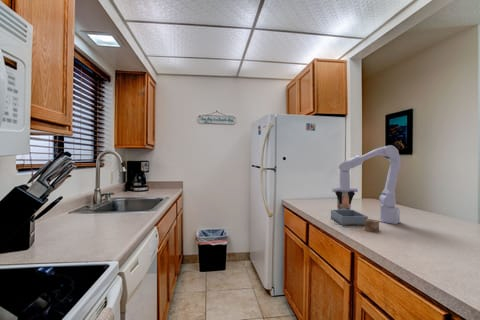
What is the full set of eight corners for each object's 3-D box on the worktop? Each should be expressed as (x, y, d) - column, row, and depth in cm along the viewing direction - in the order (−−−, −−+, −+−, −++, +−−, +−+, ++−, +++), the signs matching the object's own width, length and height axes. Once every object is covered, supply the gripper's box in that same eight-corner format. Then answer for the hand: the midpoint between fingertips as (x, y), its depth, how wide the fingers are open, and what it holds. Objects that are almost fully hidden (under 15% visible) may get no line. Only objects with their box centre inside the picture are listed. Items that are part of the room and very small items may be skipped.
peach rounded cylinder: (350, 207, 148) (350, 195, 149) (346, 208, 145) (346, 196, 145) (343, 206, 152) (342, 194, 152) (338, 207, 149) (338, 195, 149)
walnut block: (379, 230, 126) (378, 220, 126) (375, 232, 122) (375, 222, 122) (368, 228, 129) (368, 219, 129) (365, 230, 126) (364, 220, 126)
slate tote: (330, 217, 153) (330, 209, 153) (353, 217, 152) (353, 209, 152) (341, 225, 135) (341, 216, 135) (367, 225, 134) (367, 216, 134)
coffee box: (336, 209, 176) (336, 187, 176) (345, 209, 176) (345, 187, 176) (341, 212, 167) (341, 189, 167) (351, 212, 167) (351, 189, 167)
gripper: (354, 180, 152) (354, 202, 152) (330, 180, 153) (330, 202, 153) (359, 181, 145) (359, 204, 145) (334, 181, 146) (334, 204, 146)
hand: (344, 203), depth 149 cm, fingers closed on peach rounded cylinder, 5 cm apart
